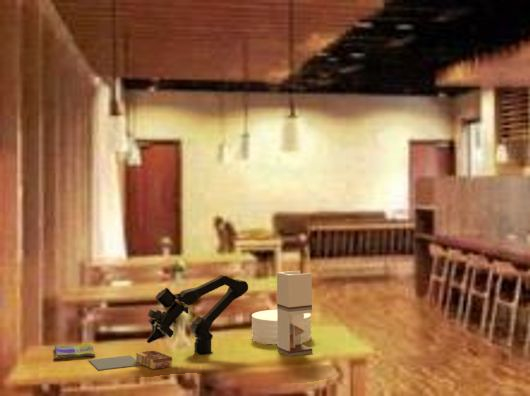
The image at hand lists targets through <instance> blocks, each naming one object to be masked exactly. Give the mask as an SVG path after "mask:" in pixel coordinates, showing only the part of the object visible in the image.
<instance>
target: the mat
mask: <svg viewBox="0 0 530 396" xmlns="http://www.w3.org/2000/svg"><path fill="white" fill-rule="evenodd" d="M88 362H89V363H90V364H91V365H92V366H93V368H95V369H96V370H97V371H98V372H99V371H106V370H113V369H123V368H124V369H125V368H131V366H132V367H138V366H142V365H143V364H140V363H138V362H136V358H134V357H133V356H132V355H129V354H128V355H122V356H120V355H119V356H112V357H111V356H110V357H103V358H92V359H89V360H88Z"/></svg>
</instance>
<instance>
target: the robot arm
mask: <svg viewBox="0 0 530 396" xmlns="http://www.w3.org/2000/svg"><path fill="white" fill-rule="evenodd" d="M224 286H227V287H228V288H227V290H226V292H225V294H224V295H223V296H222V297H221V298H220V299H218V301H217V302H216V303H215V305H214V306H212V307H211V309H210V310H209V311H208V312H207V313H206V314H204V315H203V316H200V315H198V316H197V317H196V318H195V319H194V320H192V322H191V323H192V324H191V325H190V333H191V334H192V335H194V336H193V337H195V342H194V345H193V346H194V351H193V352H194V353H196V354H197V355H208V354H213V353H214V351H212V340H213V334H212V333H211V332H210V329H211V328H212V325H213V322H215V320H216V319H218V318H219V316H221V314H222V313H223V312H224V311H225V310H226V309H227V308H228V306H230V305H231V303H232V302H233V301H235V300H236V299H238V298H240V297H242V296H244V295H245V294H246V293H247V292H248V291H249V285H248V283H247V282H246V281H245V280H242V279H239V278H237V279H235V278H231V277H229V276H228V275H225V274H221V275H219V276H218V277H215V278H213V279H211V280H209V281H206V282H205V283H203V284H201V285H198V286H196V287H193V288H187V289H183V290H181V291H180V292H179V293H175V294H174V293H173V292H171V290H170V289H169V287H165V288H164V289H162V290H161V291H159V292H158V293H157V294H156V296H155V298H154V299H155V300H156V301H157V302H158V303H159V304H160V305H161V306H163V308H168V309H167V310H166V311H165V310H164V311H161V310H159V309H156V310H155V309H151V308H150V309H149V311H148V313H147V317H149V318H150V319H149V320H148V322H149V324H151V325H150V326H151V332H150V334H149V335H148V337H147V340H146V342H147V344H150V343H152V342H155V341H157V340H159V339H161V338H164V337H166V335H167V336H168V337H169V338H172V337H173V335H174V330H173V329H172V328H171V327H172V325H173V324H176V323H177V319H178V318H179V317H180V316H182V314H183V313H185V314H187V315H189V307H188V306H190V305H193V304H195V303H196V302H197V301H198V300H199V299H200V298H201V297H203V296H205V295H206V294H208V293H209V294H210V292H213V291H215V290H217V289H219V288H221V287H224ZM185 305H186V306H185Z"/></svg>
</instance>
